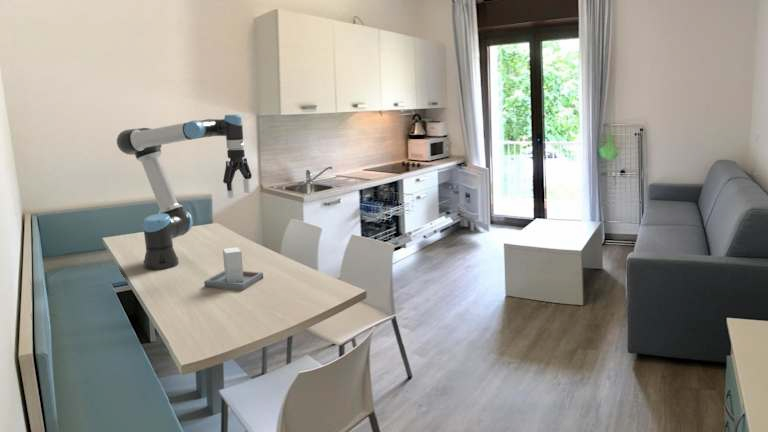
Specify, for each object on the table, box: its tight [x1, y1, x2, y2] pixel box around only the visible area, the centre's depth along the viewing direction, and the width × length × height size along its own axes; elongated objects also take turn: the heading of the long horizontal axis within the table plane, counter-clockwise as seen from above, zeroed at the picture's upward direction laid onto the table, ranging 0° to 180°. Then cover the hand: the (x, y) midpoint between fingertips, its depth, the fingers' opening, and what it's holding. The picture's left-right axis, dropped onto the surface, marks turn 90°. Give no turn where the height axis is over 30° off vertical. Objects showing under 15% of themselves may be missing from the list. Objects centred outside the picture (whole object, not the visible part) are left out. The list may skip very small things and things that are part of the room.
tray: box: [204, 270, 264, 291], centre depth 232 cm, size 18×16×2 cm
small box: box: [222, 246, 244, 283], centre depth 231 cm, size 8×6×13 cm
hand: (239, 195), depth 257 cm, fingers open, 13 cm apart
